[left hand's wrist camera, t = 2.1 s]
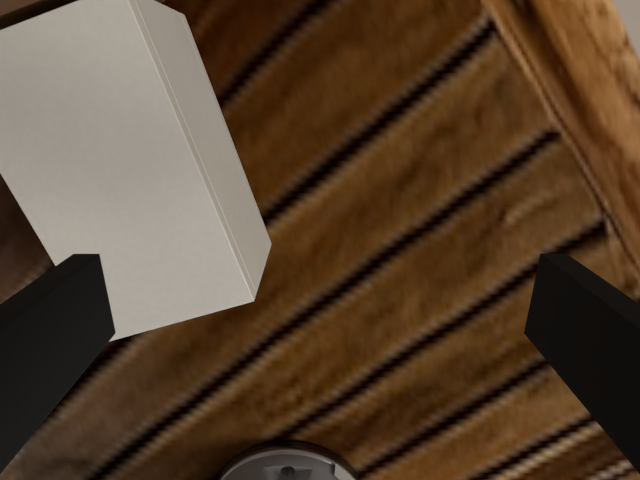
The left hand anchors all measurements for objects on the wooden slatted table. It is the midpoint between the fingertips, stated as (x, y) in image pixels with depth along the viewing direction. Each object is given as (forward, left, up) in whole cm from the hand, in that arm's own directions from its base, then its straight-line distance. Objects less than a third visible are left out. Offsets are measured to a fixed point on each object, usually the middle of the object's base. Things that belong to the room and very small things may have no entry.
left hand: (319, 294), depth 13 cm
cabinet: (-8, +8, -19) cm, 22 cm away
